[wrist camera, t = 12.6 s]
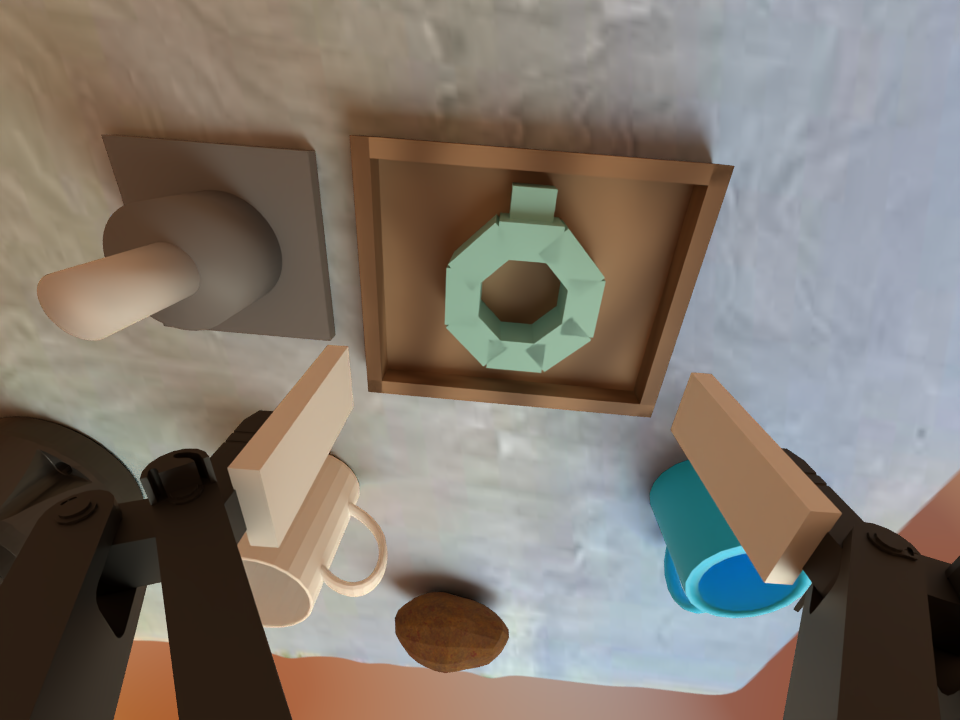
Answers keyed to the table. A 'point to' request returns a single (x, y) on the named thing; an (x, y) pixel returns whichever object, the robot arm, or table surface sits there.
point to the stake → (203, 245)
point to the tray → (527, 266)
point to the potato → (450, 632)
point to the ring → (533, 240)
